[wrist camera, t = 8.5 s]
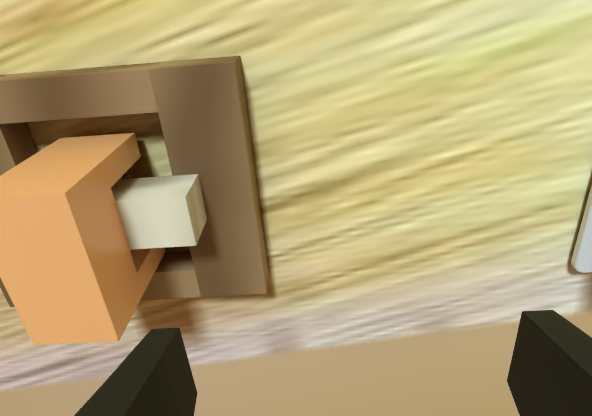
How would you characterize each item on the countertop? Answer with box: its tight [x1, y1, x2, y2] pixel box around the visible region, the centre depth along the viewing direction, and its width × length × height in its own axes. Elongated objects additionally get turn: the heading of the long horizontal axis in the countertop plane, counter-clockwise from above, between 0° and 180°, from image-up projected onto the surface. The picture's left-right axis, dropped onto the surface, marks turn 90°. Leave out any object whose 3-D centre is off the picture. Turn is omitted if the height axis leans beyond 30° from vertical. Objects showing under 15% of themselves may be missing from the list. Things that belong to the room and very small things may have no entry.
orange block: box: [0, 133, 166, 345], centre depth 16 cm, size 3×6×6 cm, turn 4°
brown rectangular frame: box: [0, 56, 269, 307], centre depth 17 cm, size 12×10×4 cm
